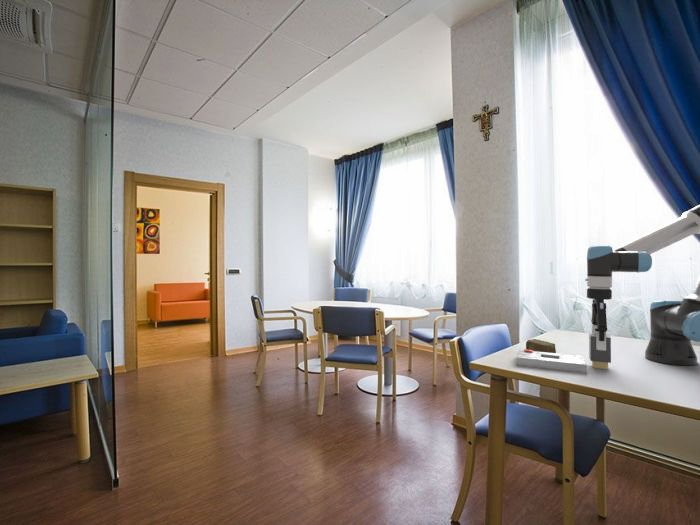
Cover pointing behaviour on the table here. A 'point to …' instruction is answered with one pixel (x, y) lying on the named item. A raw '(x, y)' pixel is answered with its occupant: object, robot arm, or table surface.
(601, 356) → the plug
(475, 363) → the table surface
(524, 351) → the socket plate
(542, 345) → the stone block
